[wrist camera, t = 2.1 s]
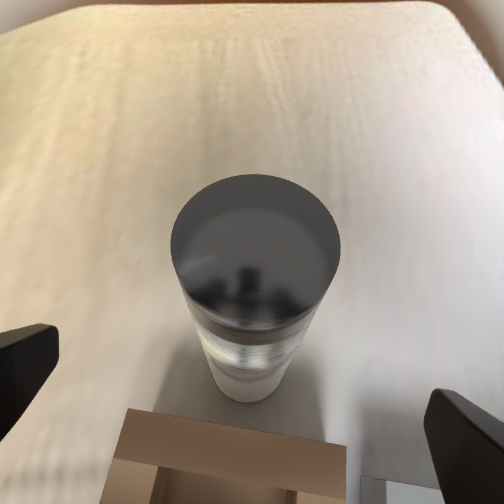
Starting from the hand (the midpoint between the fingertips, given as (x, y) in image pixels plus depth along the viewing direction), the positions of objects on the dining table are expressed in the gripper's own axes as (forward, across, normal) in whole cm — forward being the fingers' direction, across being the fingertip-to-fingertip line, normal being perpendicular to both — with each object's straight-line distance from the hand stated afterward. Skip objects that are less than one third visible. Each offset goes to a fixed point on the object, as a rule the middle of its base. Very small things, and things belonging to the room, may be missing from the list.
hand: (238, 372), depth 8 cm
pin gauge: (+10, 0, +6) cm, 12 cm away
